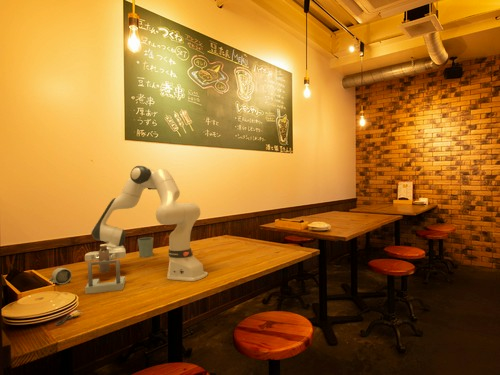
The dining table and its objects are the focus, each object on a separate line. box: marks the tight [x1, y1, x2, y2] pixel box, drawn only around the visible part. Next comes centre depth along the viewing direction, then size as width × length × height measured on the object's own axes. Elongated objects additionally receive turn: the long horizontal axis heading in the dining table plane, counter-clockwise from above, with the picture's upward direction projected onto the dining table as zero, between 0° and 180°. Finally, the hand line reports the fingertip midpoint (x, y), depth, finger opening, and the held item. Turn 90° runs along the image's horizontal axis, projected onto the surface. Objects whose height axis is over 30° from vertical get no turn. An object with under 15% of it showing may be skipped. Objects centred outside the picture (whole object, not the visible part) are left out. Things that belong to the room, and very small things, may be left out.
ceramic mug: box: [48, 267, 73, 285], centre depth 160 cm, size 11×8×8 cm
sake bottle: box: [98, 243, 111, 274], centre depth 164 cm, size 5×5×14 cm
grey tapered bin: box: [137, 237, 154, 258], centre depth 214 cm, size 10×10×12 cm
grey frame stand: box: [84, 259, 126, 295], centre depth 152 cm, size 12×16×14 cm
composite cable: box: [55, 309, 83, 327], centre depth 118 cm, size 10×5×2 cm, turn 155°
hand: (103, 258), depth 163 cm, fingers closed on sake bottle, 5 cm apart
